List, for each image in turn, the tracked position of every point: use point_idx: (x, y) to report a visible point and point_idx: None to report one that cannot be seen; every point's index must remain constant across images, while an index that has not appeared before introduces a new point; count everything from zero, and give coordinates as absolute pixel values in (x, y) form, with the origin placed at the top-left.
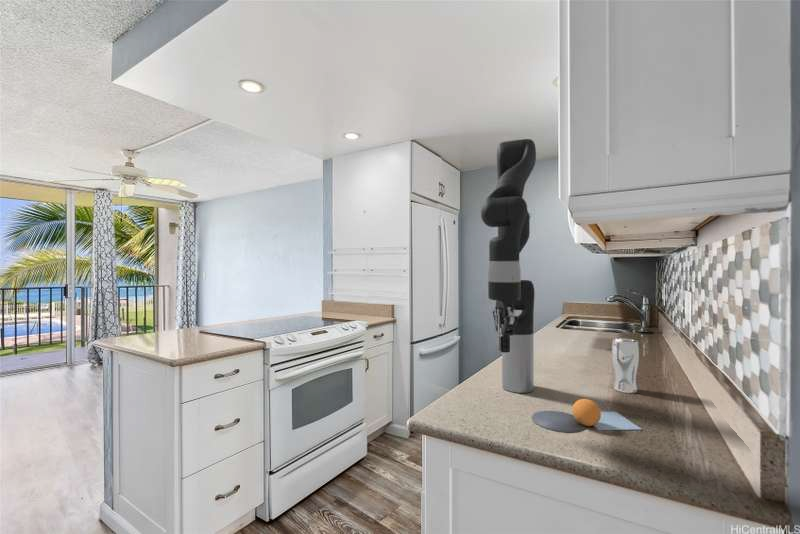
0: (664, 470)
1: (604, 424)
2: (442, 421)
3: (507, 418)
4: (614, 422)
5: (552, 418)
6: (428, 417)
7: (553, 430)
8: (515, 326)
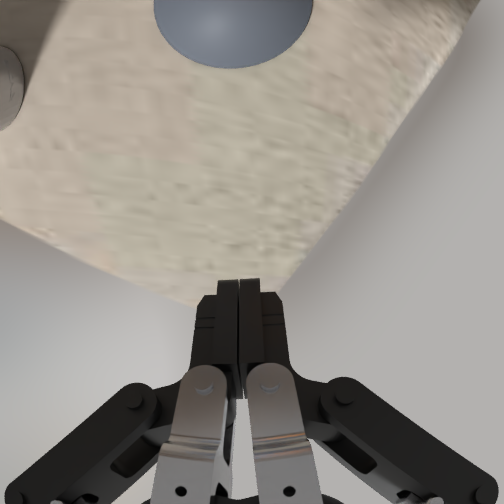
0: None
1: None
2: None
3: (218, 137)
4: None
5: (217, 9)
6: None
7: (300, 34)
8: (441, 443)
